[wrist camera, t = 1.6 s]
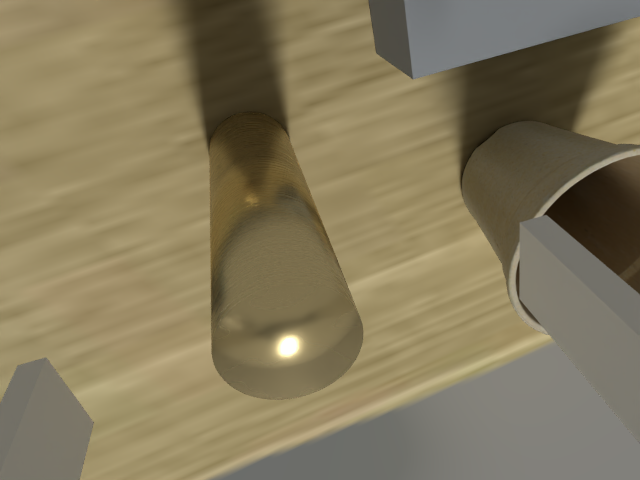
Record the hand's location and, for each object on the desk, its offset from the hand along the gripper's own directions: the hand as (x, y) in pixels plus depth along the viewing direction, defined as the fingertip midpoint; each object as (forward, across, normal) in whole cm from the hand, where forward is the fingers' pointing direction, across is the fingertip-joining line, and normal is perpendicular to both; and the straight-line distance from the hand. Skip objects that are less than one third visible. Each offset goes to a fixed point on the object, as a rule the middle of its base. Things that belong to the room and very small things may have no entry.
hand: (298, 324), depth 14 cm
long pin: (+13, 0, 0) cm, 13 cm away
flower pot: (+14, +13, -5) cm, 20 cm away
